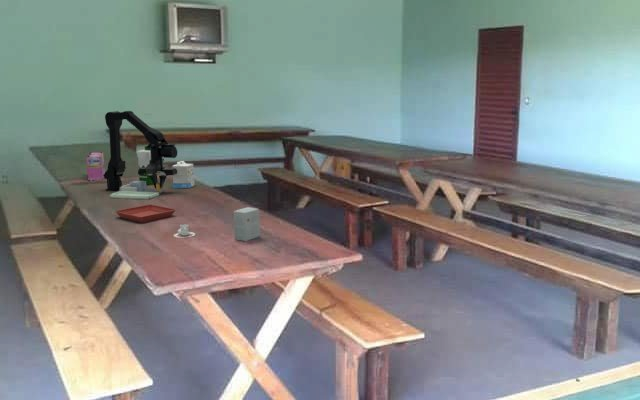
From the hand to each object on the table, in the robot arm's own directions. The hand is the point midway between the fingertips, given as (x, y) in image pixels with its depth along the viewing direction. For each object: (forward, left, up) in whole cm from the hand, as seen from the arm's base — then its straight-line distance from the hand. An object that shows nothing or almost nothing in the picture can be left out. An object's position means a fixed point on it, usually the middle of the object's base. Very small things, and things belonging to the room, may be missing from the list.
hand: (158, 188), depth 318 cm
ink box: (+6, +17, -2) cm, 18 cm away
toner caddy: (-6, 0, -2) cm, 7 cm away
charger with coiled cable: (+50, -72, -3) cm, 88 cm away
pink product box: (-56, +34, -2) cm, 66 cm away
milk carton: (-17, +22, -2) cm, 28 cm away
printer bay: (-14, 0, -2) cm, 14 cm away
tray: (-7, -12, -2) cm, 14 cm away
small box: (+73, -74, -2) cm, 104 cm away
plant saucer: (+20, -50, -3) cm, 54 cm away
